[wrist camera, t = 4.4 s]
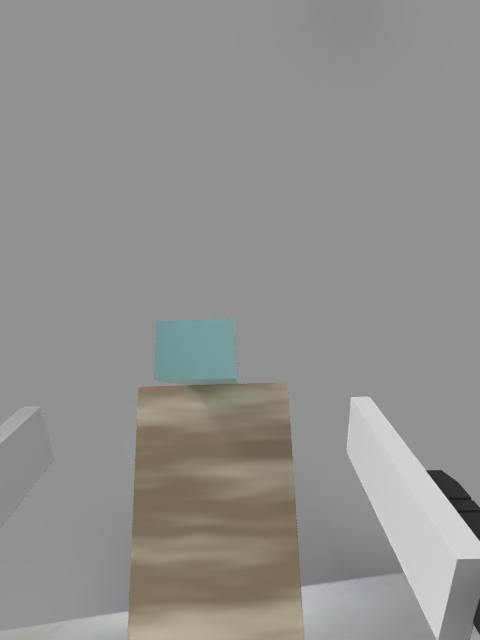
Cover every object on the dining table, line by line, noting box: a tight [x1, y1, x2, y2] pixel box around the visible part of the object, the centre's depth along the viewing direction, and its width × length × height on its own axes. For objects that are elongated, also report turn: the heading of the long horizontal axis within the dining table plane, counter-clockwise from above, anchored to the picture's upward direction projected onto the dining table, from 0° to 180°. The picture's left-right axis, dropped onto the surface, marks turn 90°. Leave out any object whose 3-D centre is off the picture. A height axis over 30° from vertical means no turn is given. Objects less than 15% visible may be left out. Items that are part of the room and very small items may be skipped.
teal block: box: [154, 319, 239, 385], centre depth 28 cm, size 26×4×3 cm, turn 0°
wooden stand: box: [128, 382, 304, 640], centre depth 27 cm, size 12×12×30 cm
